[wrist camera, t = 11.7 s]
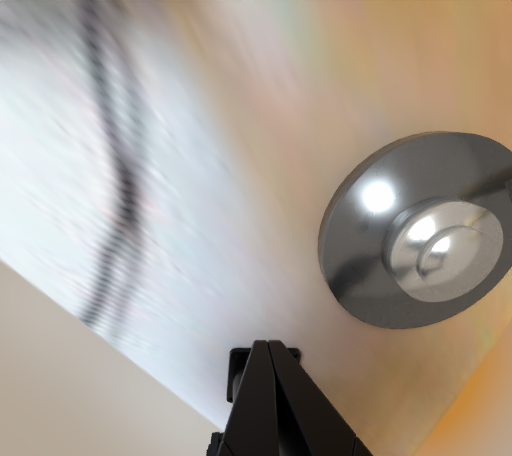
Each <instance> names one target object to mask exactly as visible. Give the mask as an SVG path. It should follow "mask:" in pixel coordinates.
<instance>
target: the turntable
mask: <svg viewBox="0 0 512 456" xmlns="http://www.w3.org/2000/svg"><path fill="white" fill-rule="evenodd" d="M433 196H452V197H456V198H458V199H461V200H464V201H466V202H469V203H472V204H474V205H477V206H480V207H482V208H485V209H487V210H488V211H490V212H491V213H492V214H494V215H495V216H496V218H497V219H498V221H499V222H500V224H501V227H502V231H503V245H502V250H501V253H500V256H499V258H498V261H497V262H496V264H495V266H494V268H493V269H492V270H491V272H490V273H489V274H488V275H487V276H486V278H485V279H484V280H483V281H482V282H480V283H479V284H478V285H477V286H476V287H474V288H473V289H471V290H470V291H468V292H467V293H465V294H463V295H461V296H459V297H456V298H454V299H451V300H447V301H442V302H425V301H420V300H417V299H415V298H413V297H411V296H410V295H408V294H407V293H406V292H405V291H404V290H403V289H402V288H401V287H400V286H399V285H398V284H397V283H396V282H395V281H394V280H393V279H392V278H391V277H390V276H389V275H388V273H387V272H386V271H385V269H384V267H383V264H382V260H381V246H382V242H383V238H384V236H385V234H386V232H387V230H388V228H389V226H390V225H391V224H392V222H393V221H394V220H395V219H396V217H397V216H398V215H399V214H400V213H402V212H403V211H404V210H405V209H406V208H408V207H409V206H411V205H413V204H414V203H416V202H418V201H420V200H423V199H426V198H429V197H433ZM318 258H319V264H320V268H321V271H322V274H323V276H324V278H325V281H326V283H327V284H328V286H329V288H330V290H331V291H332V293H333V294H334V296H335V298H336V299H337V301H338V302H339V303H340V304H341V305H342V306H343V308H344V309H345V310H347V311H348V312H349V313H350V314H352V315H353V316H355V317H356V318H358V319H360V320H361V321H364V322H366V323H369V324H371V325H375V326H379V327H384V328H391V329H407V328H417V327H422V326H427V325H430V324H434V323H437V322H440V321H442V320H445V319H447V318H450V317H452V316H454V315H456V314H458V313H460V312H462V311H464V310H465V309H467V308H468V307H470V306H471V305H473V304H474V303H476V302H477V301H478V300H480V299H481V298H482V297H484V296H485V295H486V294H487V293H488V292H489V291H490V290H492V289H493V288H494V287H495V286H496V285H497V284H498V282H499V281H500V280H501V279H502V278H503V277H504V276H505V274H506V273H507V272H508V271H509V269H510V268H511V267H512V152H511V151H510V150H509V149H507V148H506V147H505V146H503V145H502V144H500V143H498V142H496V141H494V140H492V139H490V138H487V137H484V136H480V135H476V134H469V133H459V132H447V131H435V132H425V133H420V134H414V135H411V136H408V137H405V138H402V139H399V140H397V141H395V142H393V143H390V144H388V145H386V146H384V147H383V148H381V149H379V150H378V151H376V152H375V153H373V154H371V155H370V156H369V157H368V158H366V159H365V160H364V161H363V162H361V163H360V164H359V165H358V166H357V167H356V168H355V169H354V170H353V171H352V172H351V173H350V174H349V175H348V176H347V177H346V178H345V180H344V181H343V182H342V183H341V185H340V186H339V187H338V189H337V190H336V192H335V194H334V195H333V197H332V198H331V200H330V202H329V204H328V207H327V209H326V211H325V213H324V216H323V219H322V222H321V226H320V231H319V236H318Z"/></svg>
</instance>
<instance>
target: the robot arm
mask: <svg viewBox="0 0 512 456" xmlns="http://www.w3.org/2000/svg"><path fill="white" fill-rule="evenodd" d="M234 354H237V355H234ZM300 357H301V354H300V351H299V349H296V348H286V347H285V345H284V344H283V343H282V342H281V341H280V340H269V341H266V340H255V341H254V342H253V345H252V348H235V349H232V350H231V351H230V357H229V371H228V385H227V401H228V402H230V403H233V407H232V410H231V413H230V416H229V419H228V422H227V425H226V429H225V432H223V433H220V432H215V433H212V437H211V444H209V446H208V450H207V454H206V455H207V456H373V455H372V454H371V452H370V451H369V450H368V449H367V447H366V446H365V445H364V444H363V442H362V441H361V440H360V439H359V438H358V437H356V434H355V433H354V431H353V430H352V429H351V428H350V426H349V425H348V424H347V423H346V421H345V420H344V419H343V418H342V416H341V415H340V414H339V413H338V411H337V410H336V409H335V408H334V407H333V405H332V404H331V403H330V402H329V400H328V399H327V398H326V397H325V395H324V394H323V393H322V392H321V390H320V389H319V388H318V387H317V385H316V384H315V383H314V382H313V380H312V379H311V378H310V377H309V375H308V374H307V373H306V372H305V370H304V369H303V368H302V367H301V365H300V364H299V362H300Z"/></svg>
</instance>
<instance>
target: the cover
mask: <svg viewBox="0 0 512 456" xmlns="http://www.w3.org/2000/svg"><path fill="white" fill-rule="evenodd" d="M502 245H503V231H502V227H501V224H500V222H499V221H498V219H497V218H496V216H495V215H494V214H492V213H491V212H490V211H488V210H487V209H485V208H482V207H480V206H477V205H474V204H472V203H469V202H466V201H464V200H461V199H458V198H456V197H452V196H433V197H429V198H426V199H423V200H420V201H418V202H416V203H414V204H413V205H411V206H409V207H408V208H406V209H405V210H404V211H403V212H402V213H400V214H399V215H398V216H397V217H396V219H395V220H394V221H393V222H392V224H391V225H390V226H389V228H388V230H387V232H386V234H385V236H384V238H383V242H382V246H381V260H382V264H383V267H384V269H385V271H386V272H387V273H388V275H389V276H390V277H391V278H392V279H393V280H394V281H395V282H396V283H397V284H398V285H399V286H400V287H401V288H402V289H403V290H404V291H405V292H406V293H407V294H408V295H410V296H411V297H413V298H415V299H417V300H420V301H425V302H442V301H447V300H451V299H454V298H456V297H459V296H461V295H463V294H465V293H467V292H468V291H470V290H471V289H473V288H474V287H476V286H477V285H478V284H479V283H480V282H482V281H483V280H484V279H485V278H486V276H487V275H488V274H489V273H490V272H491V270H492V269H493V268H494V266H495V264H496V262H497V261H498V258H499V256H500V253H501V250H502Z"/></svg>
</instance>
